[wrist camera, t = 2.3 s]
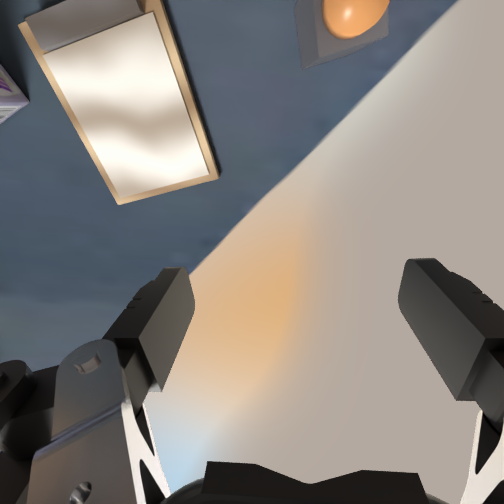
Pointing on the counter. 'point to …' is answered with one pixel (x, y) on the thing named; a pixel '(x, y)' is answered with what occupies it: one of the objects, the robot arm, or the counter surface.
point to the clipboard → (124, 93)
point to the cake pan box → (9, 96)
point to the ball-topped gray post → (338, 28)
